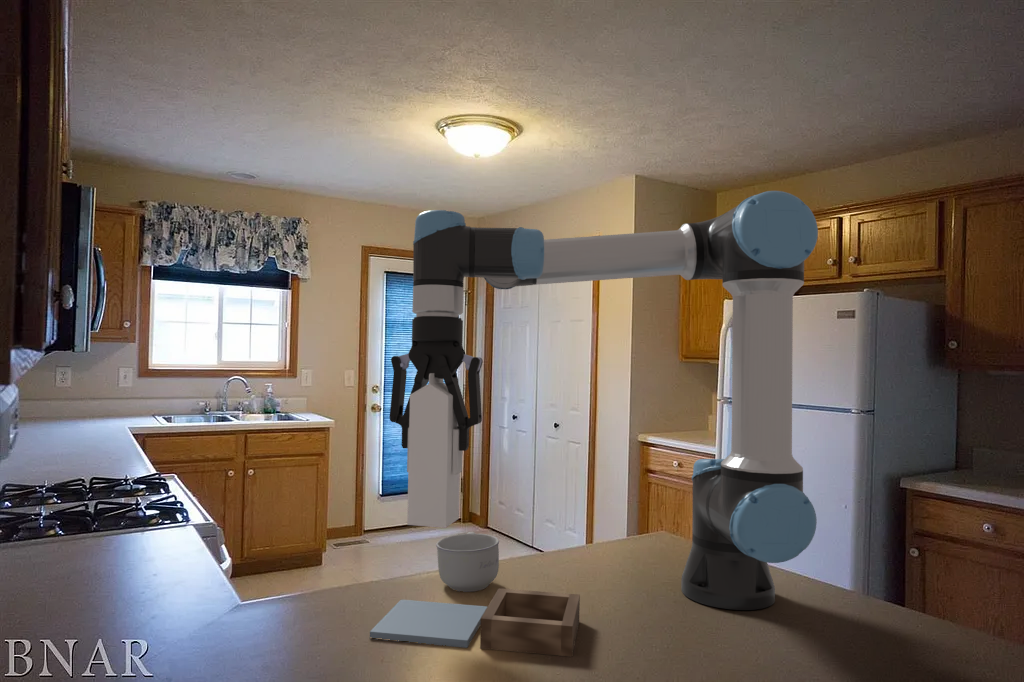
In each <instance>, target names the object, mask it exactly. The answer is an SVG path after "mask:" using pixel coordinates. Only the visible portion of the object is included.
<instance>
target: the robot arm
mask: <svg viewBox="0 0 1024 682" xmlns="http://www.w3.org/2000/svg"><path fill="white" fill-rule="evenodd" d="M465 221H466V220H465V216H464V215H463V214H462V213H460V212H456V211H453V210H452V211H451V210H450V211H449V210H445V209H431V210H425V211H423V212H420V213H419V214H418V215H417V216H416V218H415V223H414V225H415V226H414V235H413V236H414V237H413V241H412V243H413V244H412V245H413V246H412V247H413V252H412V253H413V257H412V258H413V267H412V269H413V272H412V276H413V277H412V279H413V280H412V281H413V283H412V286H413V287H412V313H413V314H416V315H415V316H414V317H413V319H412V321H411V347H410V349H409V351H408V353H406V354H402V355H393V356H392V357H391V359H390V362H391V365H392V370H393V374H392V375H393V377H392V385H391V386H392V387H391V388H392V389H391V398H390V399H391V400H390V410H389V421H390V422H391V423H396V424H397V425H400V427H401V448H402V449H407V452H406V453H407V454H406V456H407V460H406V461H407V463H406V472H407V473H408V466H409V417H410V395H411V394H412V393H414V392H416V391H417V390H419V389H421V388H422V387H424V386H426V385H427V384H429V374H430V373H434V377H436V378H439V379H443V382H444V383H445V384H446V386H447V389H448V392H449V393H450V394H451V395H453V409H454V413H455V416H456V420H457V423H458V426H457V427H458V428H456V429H453V465H452V474H459V473H460V474H461V473H462V471H463V451H464V452H466V451H467V450H469V448H470V447H469V446H470V429H471V427H473V426H476V425H479V424H480V423H482V420H483V417H482V412H483V411H482V397H481V395H482V394H481V382H480V381H481V379H480V378H481V377H480V376H481V375H480V372H481V369H482V366H483V363H484V362H483V359H482V358H481V357H478V356H477V357H475V356H472V355H468V354H466V352H465V349H464V346H463V339H464V338H463V335H464V333H463V331H464V320H462V319H463V318H461V317H460V315H462V314H463V313H464V280H465V279H464V278H484V280H485V282H486V283H488V284H489V285H490V286H491V287H493V288H495V289H497V290H511V289H513V288H515V287H523V286H525V287H526V286H528V287H529V286H535V285H547V284H548V285H549V284H562V283H563V284H564V283H579V282H589V281H590V282H592V281H605V280H606V281H608V280H609V281H610V280H621V279H622V280H623V279H638V278H649V277H663V276H664V277H665V276H666V277H667V276H678V275H680V276H681V277H682V278H683V279H684V280H686V281H693V280H722V287H723V288H724V289H725V290H726V291H727V292H728V293H729V294H730V295H731V296H732V331H731V332H732V334H731V335H732V337H731V338H732V340H731V341H732V342H731V343H732V344H731V347H732V349H731V351H732V353H731V354H732V355H731V356H732V357H731V358H732V359H731V360H732V361H731V376H732V377H731V451H730V453H729V454H728V455H727V456H726V457H725V458H699V459H697V460H695V462H694V463H693V467H692V468H693V471H692V475H691V481H692V530H691V531H692V533H691V534H692V535H691V536H692V539H691V540H692V541H691V542H692V543H691V548H690V552H689V555H688V557H687V560H686V563H685V565H684V569H683V572H682V574H681V584H680V585H681V586H680V587H681V592H682V594H683V595H684V596H685V597H687V598H688V599H690V600H692V601H693V602H696V603H699V604H702V605H706V606H708V607H712V608H713V607H714V608H719V609H724V610H734V611H753V610H760V609H761V610H762V609H766V608H768V607H770V606H773V604H775V602H776V587H775V583H774V581H773V577H772V574H771V571H770V568H769V563H770V564H781V563H784V562H788V561H791V560H793V559H795V558H797V557H798V556H799V555H801V553H803V551H804V550H807V548H808V547H809V545H810V544H811V543H812V541H813V538H814V537H815V534H816V530H817V514H816V513H817V512H816V510H815V507H814V505H813V503H812V501H810V498H809V497H808V496H807V495H806V494H805V493H804V468H803V466H802V465H801V464H800V463H799V462H798V460H796V459H795V458H794V457H793V331H794V329H793V327H794V326H793V325H794V323H793V321H794V319H793V316H794V312H793V311H794V310H793V307H794V305H793V303H794V295H795V293H796V292H798V291H799V290H800V288H801V287H803V285H804V284H805V261H806V260H807V259H809V257H810V255H811V254H812V253H813V251H814V250H815V247H816V245H817V242H818V236H819V235H818V234H819V229H818V228H819V227H818V224H817V219H816V217H815V214H814V213H813V211H812V210H811V209H810V207H809V206H808V205H807V204H806V203H805V202H803V201H802V199H801V198H799V197H798V196H796V195H794V194H792V193H789V192H786V191H782V190H767V191H764V192H760V193H758V194H754V195H751V196H749V197H747V198H745V199H744V200H742V201H741V202H740V203H739V204H738V205H737V206H735V207H733V208H731V209H730V210H728V211H726V212H725V213H723V214H721V215H719V216H716V217H713V218H711V219H707V220H704V221H699V222H693V223H692V222H690V223H683V224H682V225H681V226H680V228H678V229H677V230H674V229H673V230H662V231H649V232H634V233H632V232H631V233H621V234H620V233H619V234H608V235H606V234H605V235H594V236H593V235H592V236H590V235H589V236H577V237H575V236H574V237H564V238H549V239H544V238H545V236H544V233H543V232H542V231H541V230H539V229H536V228H524V227H521V226H519V227H476V226H475V227H474V226H473V227H472V226H470V225H469V226H468V225H467V224H466V222H465ZM466 225H467V226H466ZM410 363H412V365H413V367H414V368H415V369H416V374H415V377H414V379H413V381H414V382H413V386H412V388H411V392H410V394H409V397H408V399H407V400H408V401H407V404H406V406H405V393H406V385H407V374H408V373H407V369H408V368H409V367H410ZM463 363H464V366H465V369H466V371H467V386H468V400H469V401H468V402H469V403H468V404H469V414H468V411H467V408H466V405H465V401H464V397H463V394H462V391H461V388H460V383H459V378H458V375H457V370H459V368H460V367H461V365H462V364H463ZM404 406H405V409H404Z"/></svg>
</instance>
